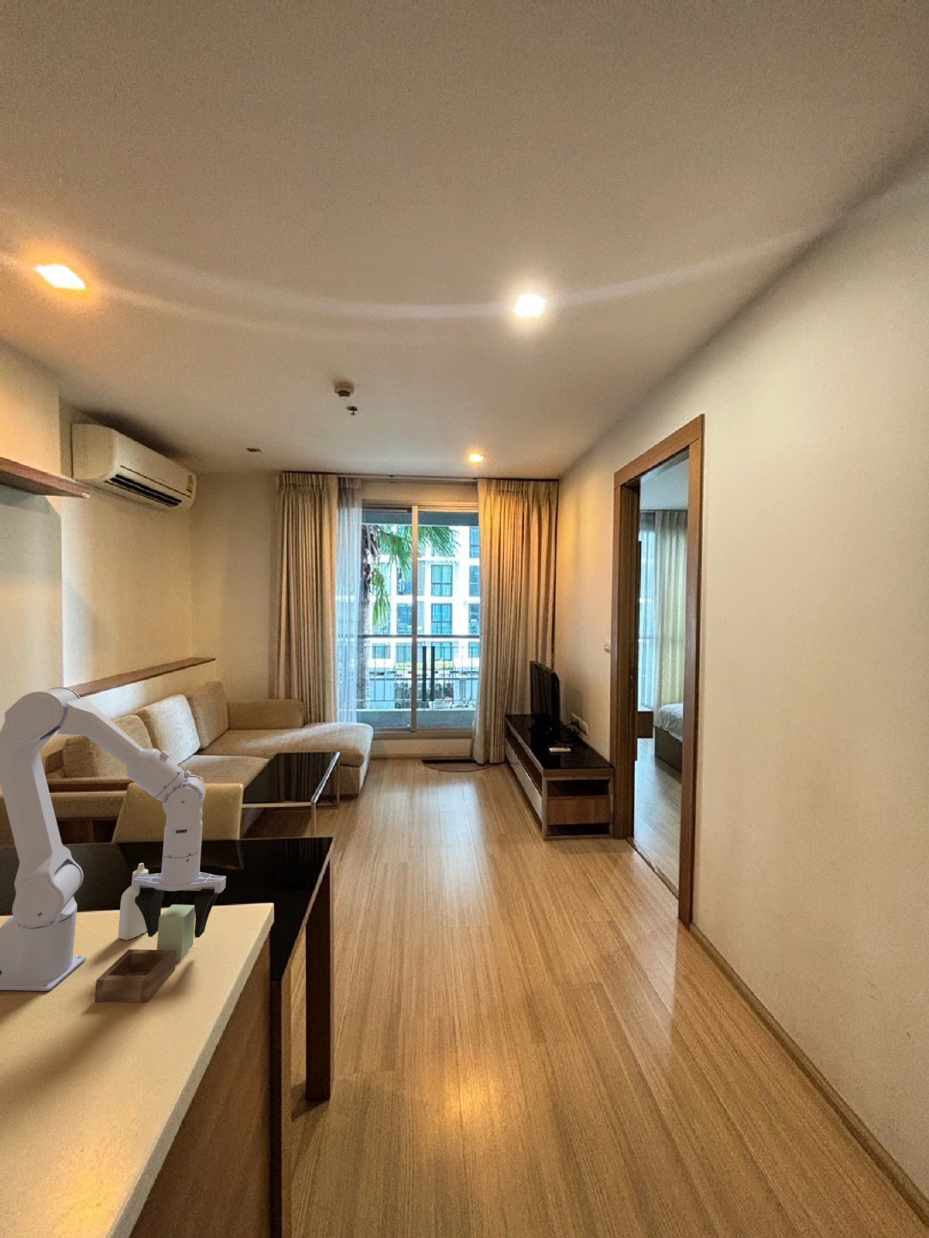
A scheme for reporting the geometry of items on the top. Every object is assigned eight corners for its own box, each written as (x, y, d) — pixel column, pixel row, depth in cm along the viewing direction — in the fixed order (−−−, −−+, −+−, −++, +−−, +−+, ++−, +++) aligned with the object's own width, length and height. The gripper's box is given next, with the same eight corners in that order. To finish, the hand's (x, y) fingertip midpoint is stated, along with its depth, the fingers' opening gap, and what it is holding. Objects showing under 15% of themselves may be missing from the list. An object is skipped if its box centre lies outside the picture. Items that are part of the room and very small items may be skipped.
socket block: (94, 1001, 73) (96, 979, 74) (127, 968, 81) (128, 949, 81) (147, 1001, 74) (149, 980, 74) (175, 969, 81) (176, 950, 81)
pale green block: (155, 960, 83) (159, 916, 84) (169, 946, 87) (172, 904, 88) (180, 961, 83) (183, 917, 84) (192, 946, 87) (195, 905, 88)
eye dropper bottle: (115, 932, 91) (120, 863, 91) (151, 922, 94) (156, 855, 95) (119, 943, 87) (125, 872, 88) (156, 932, 91) (161, 863, 92)
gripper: (235, 843, 91) (230, 921, 90) (152, 841, 90) (146, 920, 89) (217, 859, 84) (211, 944, 83) (127, 857, 83) (121, 943, 82)
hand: (176, 933), depth 86 cm, fingers open, 7 cm apart
